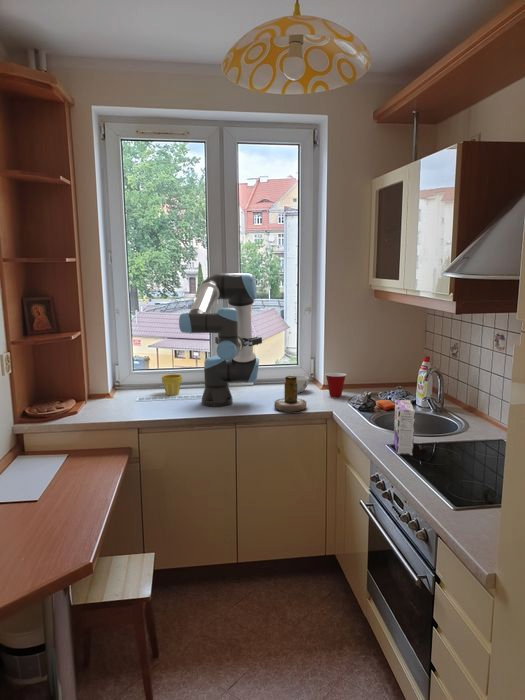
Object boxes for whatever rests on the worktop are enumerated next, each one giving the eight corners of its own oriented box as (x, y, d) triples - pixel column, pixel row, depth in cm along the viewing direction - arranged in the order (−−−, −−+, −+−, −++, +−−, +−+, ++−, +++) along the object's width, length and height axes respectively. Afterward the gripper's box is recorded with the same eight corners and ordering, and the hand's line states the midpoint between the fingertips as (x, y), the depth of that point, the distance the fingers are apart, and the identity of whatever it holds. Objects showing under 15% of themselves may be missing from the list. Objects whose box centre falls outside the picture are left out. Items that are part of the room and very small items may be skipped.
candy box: (393, 441, 187) (394, 399, 184) (409, 441, 186) (411, 399, 183) (396, 454, 174) (397, 409, 171) (413, 455, 173) (415, 410, 170)
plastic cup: (345, 393, 257) (345, 371, 255) (346, 399, 247) (347, 375, 245) (324, 393, 258) (324, 371, 256) (325, 398, 248) (325, 375, 246)
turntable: (270, 403, 236) (270, 399, 236) (298, 400, 241) (298, 396, 240) (281, 412, 222) (281, 407, 222) (311, 408, 227) (311, 404, 227)
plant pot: (170, 390, 267) (169, 373, 265) (186, 392, 262) (185, 374, 261) (158, 395, 258) (157, 377, 256) (174, 397, 253) (174, 378, 251)
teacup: (313, 391, 263) (314, 376, 262) (299, 395, 254) (299, 380, 253) (291, 386, 273) (291, 372, 272) (277, 391, 264) (277, 376, 262)
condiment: (293, 399, 236) (293, 374, 234) (303, 403, 229) (303, 378, 227) (280, 401, 233) (280, 376, 231) (289, 405, 226) (289, 379, 224)
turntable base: (274, 406, 235) (274, 404, 235) (297, 403, 239) (297, 402, 239) (283, 413, 224) (283, 411, 224) (307, 410, 228) (307, 409, 228)
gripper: (202, 353, 199) (214, 345, 220) (263, 354, 196) (269, 346, 217) (202, 335, 198) (213, 329, 219) (263, 336, 195) (269, 329, 216)
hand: (241, 337), depth 218 cm, fingers open, 13 cm apart
